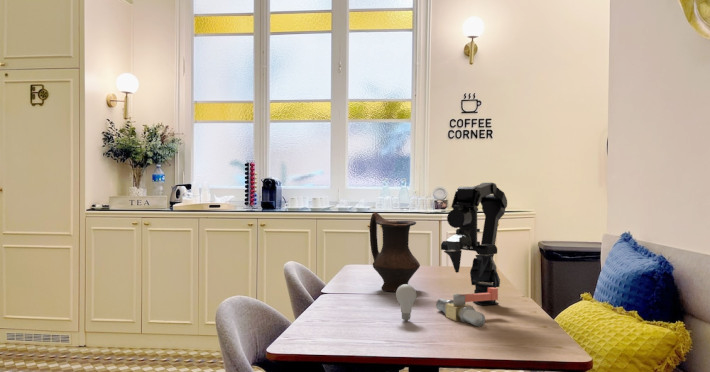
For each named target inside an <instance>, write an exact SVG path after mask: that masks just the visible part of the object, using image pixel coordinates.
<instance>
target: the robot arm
mask: <svg viewBox="0 0 710 372" xmlns="http://www.w3.org/2000/svg"><path fill="white" fill-rule="evenodd" d="M479 205H481V210H482V212H483V214H484V216H485V217H484V223H483V228H482V229H483V230H482V236H481V242H480V241H478V233H480V232H481V229H480V228H478V212H479ZM507 207H508V198H507V196H506V193H505V192H504V191H503V190H501V189H500V188H499V187H498V186H497V184H496V183H494V182H481V183H480V184H477V185H474V186H459V187H457V190H455V193H454V195H453V199H452V203H451V210H450V211H449V212H448V214H447V217H446V221H447V224H448V225H449V226H450V227H452V228H454V229H456V230H455V234H454V235H451V236H450V237H449V238H447V239H446V240H442V242H441V244H440V250H441V251H443V253H446V254H447V255H448V256H449V259H450V261H451V263H452V266H453V268H454V271H455V273H456V274H458V273H459V272H460V268H461V267H460V266H461V258H462V251H463V250H464V251H472V252H475V253H476V254H475V257H474V258H473V259H472V265H471V268H470V272H469V275H470V282H471V286H474V287H475V289H474V293H473V294H475V293H488V288H490V287H494V288H499V287H500V284H501V279H500V276H499V273H498V271H497V267H498V266H497V265H496V263H495V261H494V256H495V255H497V254H498V247H497V246H496V242H497V233H498V228H499V227H498V226H499V222H500V219H501V218H502V217H503V216H504V215H505V213H506V208H507ZM473 303H475V304H478V305H480V306H494V305H499V302H497V300H487V301H474V302H473Z"/></svg>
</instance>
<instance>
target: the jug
mask: <svg viewBox="0 0 710 372" xmlns="http://www.w3.org/2000/svg"><path fill="white" fill-rule="evenodd" d="M416 224H417V221H415V220H389V219H385V218H384V217H382V216H381V215H380V214H379V213H378V212H373V213H372V214H371V218H370V220H369V241H370V242H369V243H370V250H371V254H372V258H373V262H372V267H373V269H374V270H375V271H376V272H377V274H378V275H379V277H381V278H382V281H383V284H382V286H381V290H382V291H383V292H391V293H396V291H397V289H398V288H399V287H400V286H401V285H403V284H408V285H409V282H410V280H411V278H412V277H413V276H414V274H415V273H416V272H417V271H418V270H419V269H420V267H421V266H420V265H421V264H420V262H419V261H418V260H417V258H416V257H415V256H414V254H413V253H412V252H411V249H410V247H409V243H410V242H409V236H410V235H409V233H410V229H411V226H415V225H416ZM377 225H378V226H380V227H381V229H382V230H381V231H382V248H381V250H380V251H379V247H378V236H377V232H378V231H377V229H378V228H377V227H378V226H377Z"/></svg>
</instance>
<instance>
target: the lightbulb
mask: <svg viewBox="0 0 710 372" xmlns="http://www.w3.org/2000/svg"><path fill="white" fill-rule="evenodd" d="M395 297H396V300H397V302H398V305H399V306H400V307H399V308H400V312H401V319H402V320H403V321H405V322H408V321H410V320H411V315H412V314H411V313H412V309H413V305H414V303H415V301H416V298H417V290H416V289H415V287H414V286H413V285H411V284H409V283H408V284H403V285H401V286H400V287H399V288H398V289H397V291H396V292H395Z"/></svg>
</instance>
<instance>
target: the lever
mask: <svg viewBox="0 0 710 372" xmlns="http://www.w3.org/2000/svg"><path fill="white" fill-rule="evenodd" d="M452 300H453V304H454V305H465V304H466V303H474V301H487V300H496V301H498V300H499V289H498V287H496V288H494V287H490V288H488V293H475V294H474V293H463V294H462V293H461V294H460V293H454V294H453V299H452Z"/></svg>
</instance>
